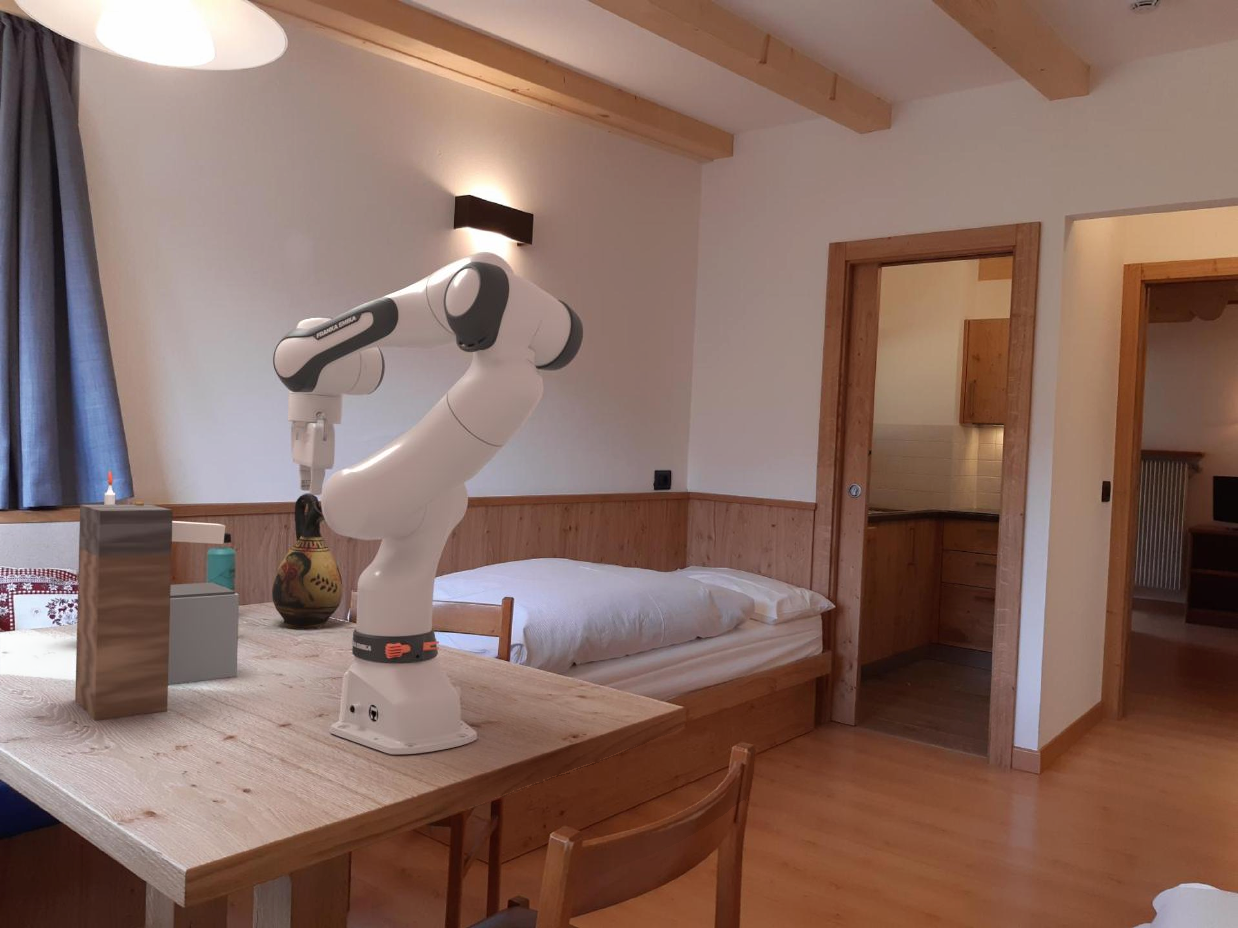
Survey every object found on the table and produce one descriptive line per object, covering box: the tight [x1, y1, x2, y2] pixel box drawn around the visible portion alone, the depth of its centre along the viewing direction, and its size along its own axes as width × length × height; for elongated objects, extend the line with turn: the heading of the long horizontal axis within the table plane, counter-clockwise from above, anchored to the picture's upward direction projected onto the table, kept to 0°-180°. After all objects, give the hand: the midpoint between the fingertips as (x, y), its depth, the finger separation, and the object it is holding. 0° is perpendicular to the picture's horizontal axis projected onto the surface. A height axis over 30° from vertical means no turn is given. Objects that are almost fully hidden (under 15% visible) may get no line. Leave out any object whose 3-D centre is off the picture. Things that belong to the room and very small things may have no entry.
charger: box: [172, 520, 226, 545], centre depth 157 cm, size 4×16×3 cm, turn 129°
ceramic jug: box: [271, 492, 344, 630], centre depth 226 cm, size 17×15×30 cm
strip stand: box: [74, 502, 174, 721], centre depth 154 cm, size 14×10×31 cm
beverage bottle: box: [205, 532, 237, 591], centre depth 229 cm, size 6×7×20 cm
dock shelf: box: [168, 582, 240, 685], centre depth 175 cm, size 14×16×15 cm
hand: (310, 492), depth 171 cm, fingers open, 8 cm apart
